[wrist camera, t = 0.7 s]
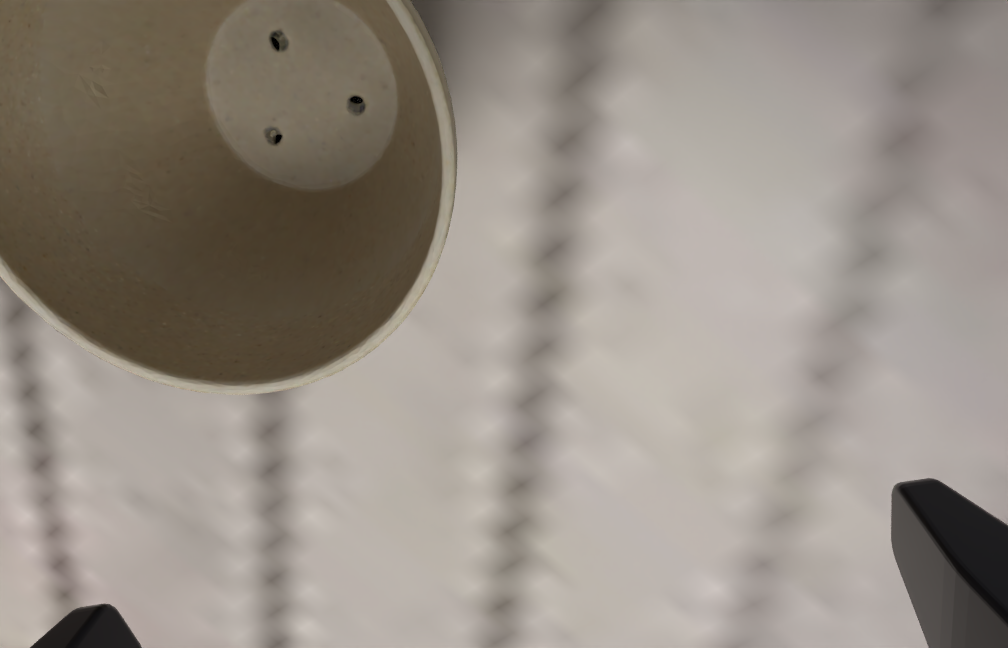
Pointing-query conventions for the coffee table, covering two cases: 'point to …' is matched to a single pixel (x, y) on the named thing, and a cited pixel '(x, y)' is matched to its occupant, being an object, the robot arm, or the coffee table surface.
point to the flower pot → (223, 181)
